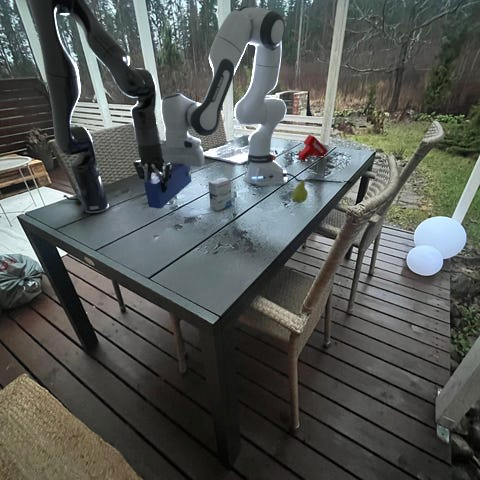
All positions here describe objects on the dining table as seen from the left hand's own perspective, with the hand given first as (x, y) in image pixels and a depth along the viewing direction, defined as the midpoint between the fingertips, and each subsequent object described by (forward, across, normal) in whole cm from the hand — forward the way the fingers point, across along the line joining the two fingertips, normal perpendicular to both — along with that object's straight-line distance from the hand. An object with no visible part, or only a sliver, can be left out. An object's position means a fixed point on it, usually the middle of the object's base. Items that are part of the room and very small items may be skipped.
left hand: (157, 190), depth 97 cm
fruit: (+15, +48, +35) cm, 61 cm away
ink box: (+14, +16, +21) cm, 30 cm away
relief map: (+14, -4, +100) cm, 101 cm away
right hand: (+1, 0, +20) cm, 20 cm away
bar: (+5, 0, +10) cm, 11 cm away
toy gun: (+15, +50, +104) cm, 117 cm away
